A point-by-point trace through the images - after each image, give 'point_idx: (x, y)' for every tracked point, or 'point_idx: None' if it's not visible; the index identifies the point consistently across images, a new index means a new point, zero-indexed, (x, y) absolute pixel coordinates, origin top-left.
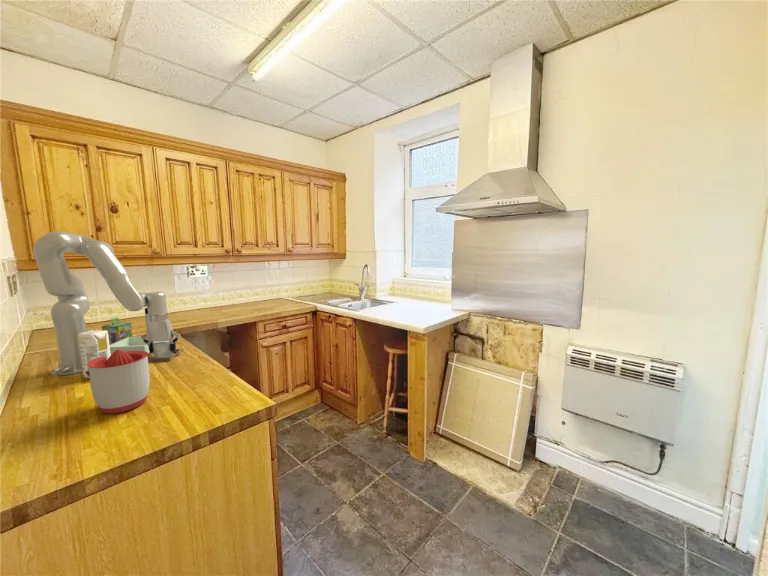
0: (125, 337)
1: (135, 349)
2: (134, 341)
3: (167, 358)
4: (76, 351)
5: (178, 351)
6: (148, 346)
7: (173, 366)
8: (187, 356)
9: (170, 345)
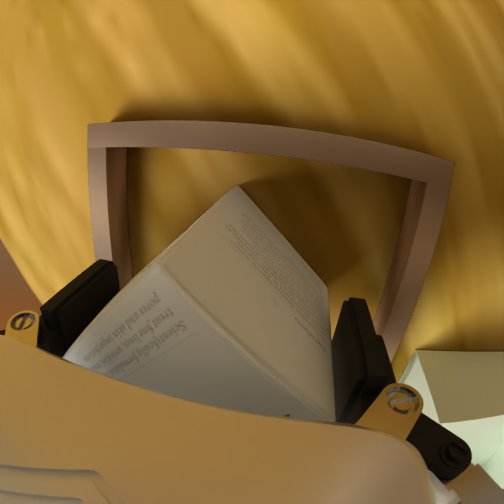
0: None
1: (492, 392)
2: None
3: (109, 122)
4: None
5: None
6: None
7: (54, 10)
8: (45, 227)
9: (60, 301)
